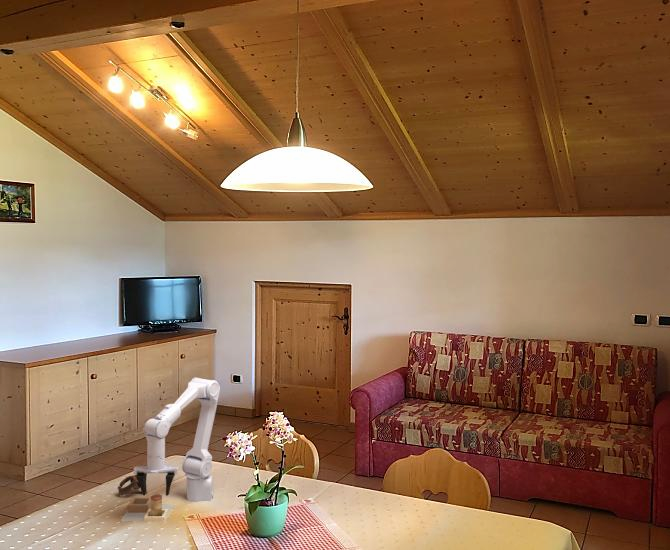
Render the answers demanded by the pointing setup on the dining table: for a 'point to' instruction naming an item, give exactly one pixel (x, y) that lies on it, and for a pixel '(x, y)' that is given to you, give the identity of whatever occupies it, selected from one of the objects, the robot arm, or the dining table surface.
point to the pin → (156, 505)
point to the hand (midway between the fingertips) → (156, 494)
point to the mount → (145, 510)
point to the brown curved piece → (133, 484)
